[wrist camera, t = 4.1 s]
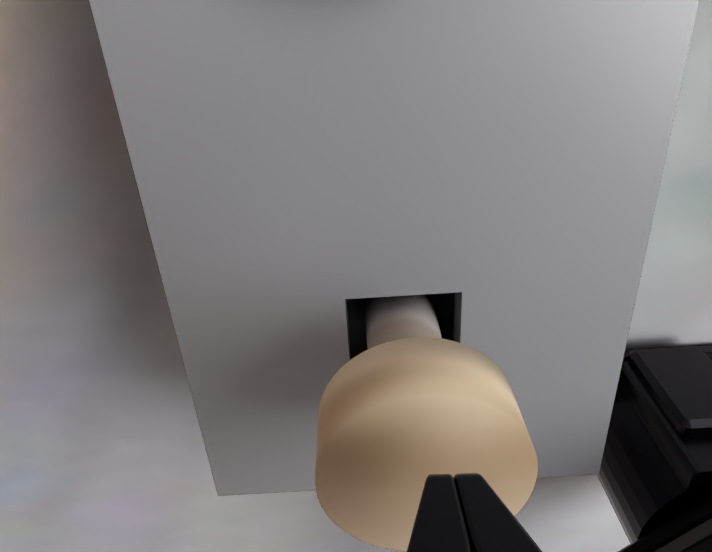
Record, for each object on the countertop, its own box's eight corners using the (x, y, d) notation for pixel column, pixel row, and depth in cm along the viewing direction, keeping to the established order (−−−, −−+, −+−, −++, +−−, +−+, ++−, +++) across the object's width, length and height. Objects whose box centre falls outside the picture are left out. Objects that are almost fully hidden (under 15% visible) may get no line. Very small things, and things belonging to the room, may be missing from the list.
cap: (469, 358, 18) (527, 545, 12) (330, 366, 18) (324, 557, 12) (475, 232, 16) (549, 389, 10) (318, 242, 16) (303, 402, 10)
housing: (541, 357, 23) (598, 474, 18) (246, 374, 23) (217, 496, 18) (642, -456, 12) (858, -752, 7) (92, -414, 13) (-87, -674, 7)
